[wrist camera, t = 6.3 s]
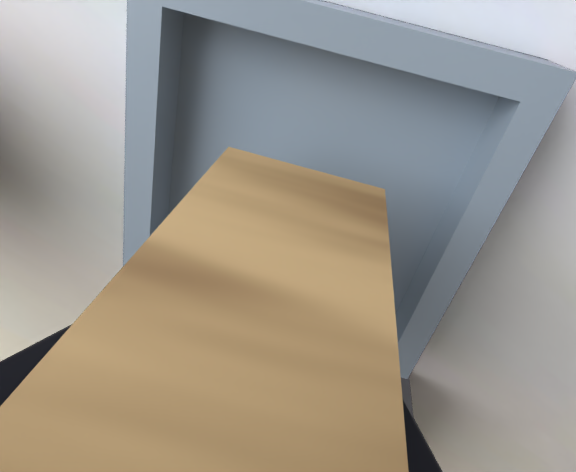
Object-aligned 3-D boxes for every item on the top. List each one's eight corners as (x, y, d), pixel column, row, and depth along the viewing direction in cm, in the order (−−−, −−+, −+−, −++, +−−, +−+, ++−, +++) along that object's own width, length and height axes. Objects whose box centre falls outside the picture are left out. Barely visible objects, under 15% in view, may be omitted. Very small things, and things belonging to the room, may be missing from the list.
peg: (339, 309, 14) (283, 947, 5) (209, 272, 14) (-99, 824, 5) (384, 189, 12) (451, 986, 2) (228, 146, 12) (-299, 745, 2)
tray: (403, 335, 19) (407, 379, 17) (149, 263, 20) (122, 298, 17) (544, 58, 13) (579, 73, 11) (166, -41, 13) (127, -46, 11)
